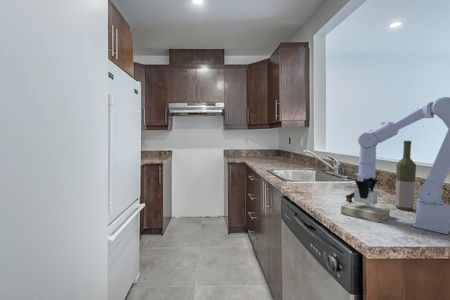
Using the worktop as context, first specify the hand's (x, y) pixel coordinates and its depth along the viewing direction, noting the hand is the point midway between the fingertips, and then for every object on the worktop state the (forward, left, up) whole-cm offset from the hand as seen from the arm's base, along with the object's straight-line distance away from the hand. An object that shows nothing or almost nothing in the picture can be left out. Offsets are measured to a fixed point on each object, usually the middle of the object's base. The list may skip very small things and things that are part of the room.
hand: (365, 197), depth 102 cm
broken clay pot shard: (+7, -14, -7) cm, 17 cm away
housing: (0, 0, -2) cm, 2 cm away
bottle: (-8, -24, -7) cm, 26 cm away
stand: (0, 0, -7) cm, 7 cm away
